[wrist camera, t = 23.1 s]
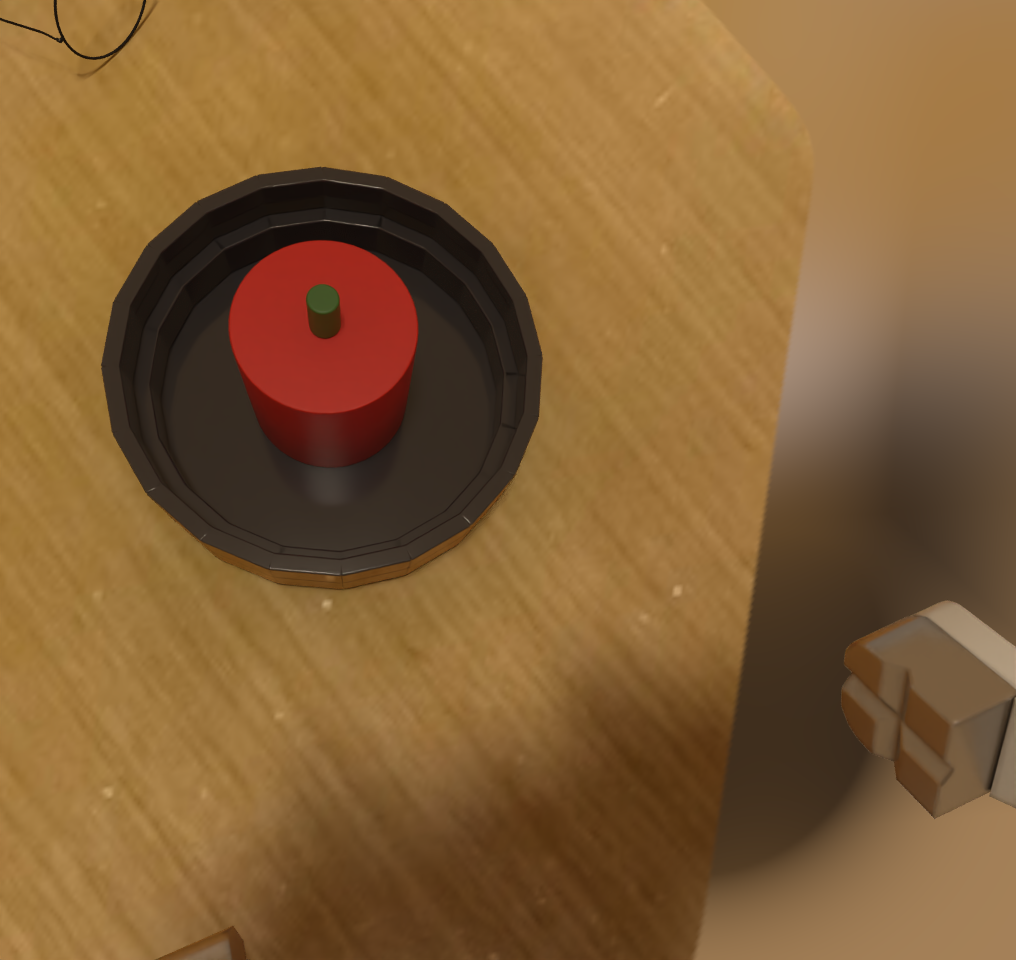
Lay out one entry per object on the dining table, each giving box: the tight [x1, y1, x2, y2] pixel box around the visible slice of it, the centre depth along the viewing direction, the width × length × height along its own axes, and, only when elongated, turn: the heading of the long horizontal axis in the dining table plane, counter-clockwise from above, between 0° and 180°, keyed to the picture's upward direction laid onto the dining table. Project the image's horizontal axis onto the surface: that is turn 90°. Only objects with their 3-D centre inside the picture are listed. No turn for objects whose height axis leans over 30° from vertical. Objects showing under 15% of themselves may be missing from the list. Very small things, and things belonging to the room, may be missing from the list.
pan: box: [101, 167, 543, 589], centre depth 34 cm, size 15×15×4 cm
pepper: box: [228, 240, 418, 467], centre depth 31 cm, size 6×6×9 cm
